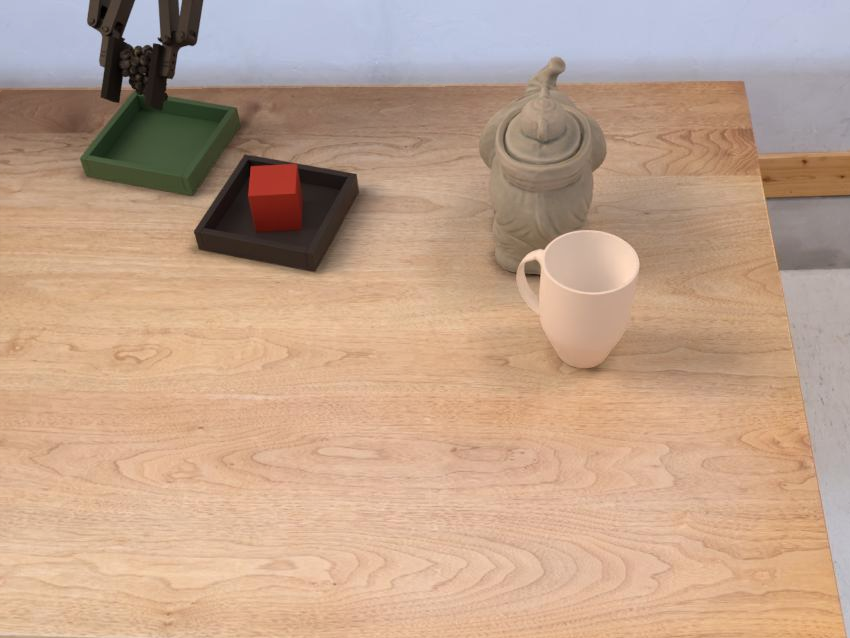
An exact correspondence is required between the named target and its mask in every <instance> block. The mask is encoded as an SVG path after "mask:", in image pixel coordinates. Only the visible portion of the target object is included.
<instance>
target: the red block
mask: <svg viewBox="0 0 850 638" xmlns="http://www.w3.org/2000/svg"><path fill="white" fill-rule="evenodd" d="M248 197H249V202H250V207H251V212H252V216H253V221H254V226H255V231H256V232H268V231H286V230H301V229H302V210H303V198H302V191H301V185H300V179H299V173H298V167H297V164H284V165H265V166H251V170H250V181H249V193H248Z"/></svg>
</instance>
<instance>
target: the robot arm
mask: <svg viewBox="0 0 850 638" xmlns="http://www.w3.org/2000/svg"><path fill="white" fill-rule="evenodd" d="M179 1H180V0H157V2H158V19H159V35H160V37H157V41H158V42H159V43H155V42H153V43H152V55H151V62H150V68H149V75H148V82H147V89H146V96H145V103H144V105H146V106H149V107H151V108H154V109H156V110H163V103H164V96H165V93H166V91H165V89H166V90H167V88H166V87H167V86H166V83H167V81H168V80H173V79H174V77H175V75H176V66H177V61H178V54H179V51H180V49H182V48H184V47H195V46H196V45H197V43H198V38H199V31H200V24H201V18H202V12H203V7H204V6H203V5H204V0H181V4H180V2H179ZM135 2H136V0H89V3H88V11H87V18H86V22H87V25H88V27H90V28H92V29H94V30H96V31H97V32H99V33H100V34H101V44H100V52H99V57H98V62H99V66H100V67H102V68H104V69H103V75H102V76H103V77H102V83H101V91H100V98H102V99H103V100H107V101H109V102H112V103H116V104H120V102H121V101H120V100H121V94H122V87H123V80H124V77H123V76H122V74H121V73H122V70H121V68H120V66H119V62H120V61H121V60H122V58H121V57H120V53H121V51H123V50H125V49H124V46H125V45H126V44H129V43H128V42H126V41H125V40H126V38H125V37H123V35H124V32H125V30H126V27H127V24H128V22H129V19H130V16H131V14H132V10H133V8H134V5H135ZM167 84H168V83H167Z"/></svg>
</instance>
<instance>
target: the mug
mask: <svg viewBox="0 0 850 638" xmlns="http://www.w3.org/2000/svg"><path fill="white" fill-rule="evenodd" d="M532 260H537V261H538V262H539V263H540V266H541V275H540V280H539V292H538V293H539V294H538V296H536V293H534V291H533V290H532V288H531V286H530V285H529V282H528V280H527V277H526V273H525V272H524V266H525V263H526V262H529V261H532ZM639 271H640V259H639V255H638V253H637V252H636V250H635V249H634V248H633V246H632V245H631V244H630V243H628V242H627V241H626V240H625V239H624V238H623V239H622V238H621V237H619V236H617V235H615V234H613V233H610V232H606V231H600V230H594V229H591V230H590V229H588V230H581V231H574V232H570V233H566V234H564V235H561V236H559V237H557V238H556V239H554V240H553V241H552V242H550V243H549V244H548V246H547V247H546V248H545V250H542V249H539V250H535V251H532V252H530V253H529V254H527V255H526V256H525V257H524V259H523V260H522V261H521V263H520V265H519V267H518V270H517V273H516V274H515V275H516V278H515V280H516V286H517V289H518V292H519V295H520V296H521V298H522V300H523V301H524V302H525V304H526V305H527V306H528V308H529V309H530V310H531V311H532V312H533V313H534V314H535V315H536V316H537V317H538V318H539V320H540V325H541V327H542V330H543V332H544V335H546V337H547V339H548V341H549V342H550V344H551V346H552V347H553V349H554V351H555V353H556V355H557V356H558V358H559V359H560V360H561V361H562V362H563V363H565V364H566V365H568V366H570V367H573V368H577V369H590V368H594V367H595V368H596V367H597V366H600V365H601V364H602V363H603V362H604V361H605V360H606V359H607V358H608V356H609V355H610V353H611V352H612V351H613V349H614V348H615V347H616V345H617V344H618V343H619V341H621V339H622V338H623V336H624V334H625V332H626V331H627V328H628V325H629V322H630V319H631V315H632V310H633V306H634V299H635V295H636V288H637V283H638V278H639Z"/></svg>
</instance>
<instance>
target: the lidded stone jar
mask: <svg viewBox="0 0 850 638" xmlns="http://www.w3.org/2000/svg"><path fill="white" fill-rule="evenodd" d="M565 71H566V62H565V60H564V59H562V58H561V57H559V56H553V57H550V59H549V60H548V63H547V64H546V65H545V66H544V67H543V68H542V69H540V70H538V71H537V72H536V73H535V74H534V75H533V76H531V78H530V79H529V80H528V82H527V84H526V87H525V90H524V94H523V96H520V97H518V98H516V99H514V100H512V101H510V102H509V103H508V104H507V105H505V106H504V107H502V108H500V109H499V110H498V111H496V112H495V113H494V114H493V115H492V116H491V117H490V118H489V120H488V121H487V122H486V123H485V125H484V127H483V128H482V130H481V133H480V136H479V139H478V150H479V151H478V152H479V155H480V158H481V160H482V162H483V164H485V165H486V166H487V167H488V168H489V170H490V174H489V183H488V195H489V202H490V204H491V209H492V211H493V215H494V219H493V222H492V235H493V238H494V241H495V246H494V247H495V248H494V257H495V261H496V263H497V265H498V266H499V267H501V268H502V269H504V270H505V271H509V272H511V273H516V274H517V270H518V267H519V265H520V263H521V261H522V260H523V259H524V257H525V256H526V255H527V254H529V253H530V252H532V251H535V250H539V249H542V250H545V248H546V247H547V246H548V244H549V243H550V242H552V241H553V240H554V239H556V238H557V237H559V236H561V235H564V234H566V233H570V232H574V231H581V230H589V220H588V214H589V210H590V208H591V204H592V202H593V195H594V175H593V173H594V172H595V171H597V169H599V168H600V167H601V166H602V165H603V163H604V161H605V159H606V157H607V149H608V148H607V141H606V138H605V134H604V131H603V130H602V127H601V125H600V124H599V122H598V121H597V120H595V119H594V118H593V117H592V116H590V115H589V114H587V113H586V112H584V111H582V110H581V109H580V108H579V107H578V106H577V105H576V104H575V102H574V101H573V99H571V98H570V97H569V96H568V95H566V94H565V93H563V92H560V91H558V87H557V80H558V77H559V76H560V75H561V74H562V73H564V72H565ZM524 272H525V275H526V274H527V275H528V274H529V275H531V274H532V275H539V276H541V266H540V263H539V262H538V261H537V260H532V261H529V262H526V263H525V266H524Z"/></svg>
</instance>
